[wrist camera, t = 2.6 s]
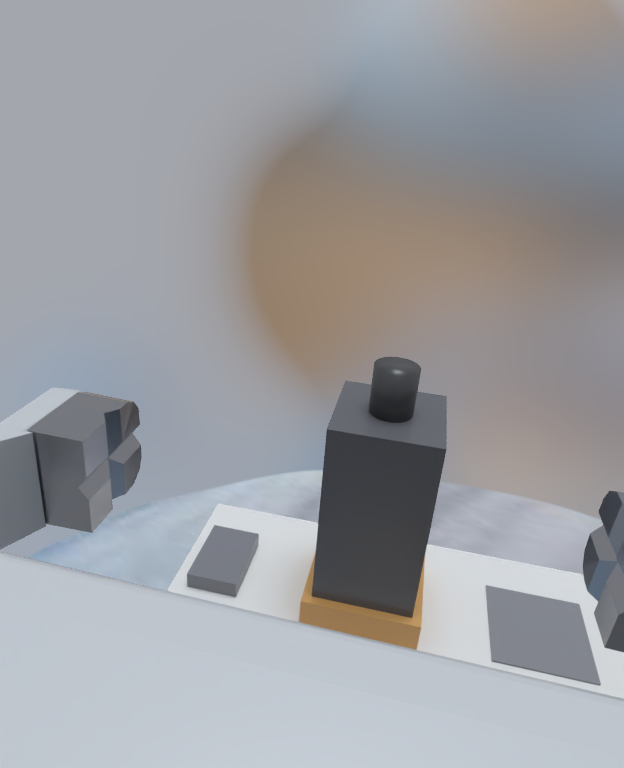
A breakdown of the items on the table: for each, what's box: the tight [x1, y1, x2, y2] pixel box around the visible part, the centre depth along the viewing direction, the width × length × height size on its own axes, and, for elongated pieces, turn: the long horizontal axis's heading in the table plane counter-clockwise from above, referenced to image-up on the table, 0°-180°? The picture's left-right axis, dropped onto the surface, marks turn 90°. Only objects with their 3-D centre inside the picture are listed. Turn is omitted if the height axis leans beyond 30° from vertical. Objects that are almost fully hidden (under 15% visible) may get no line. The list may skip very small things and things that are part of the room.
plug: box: [299, 357, 446, 650], centre depth 25 cm, size 5×5×15 cm
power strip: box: [167, 503, 624, 699], centre depth 28 cm, size 22×9×5 cm, turn 78°
